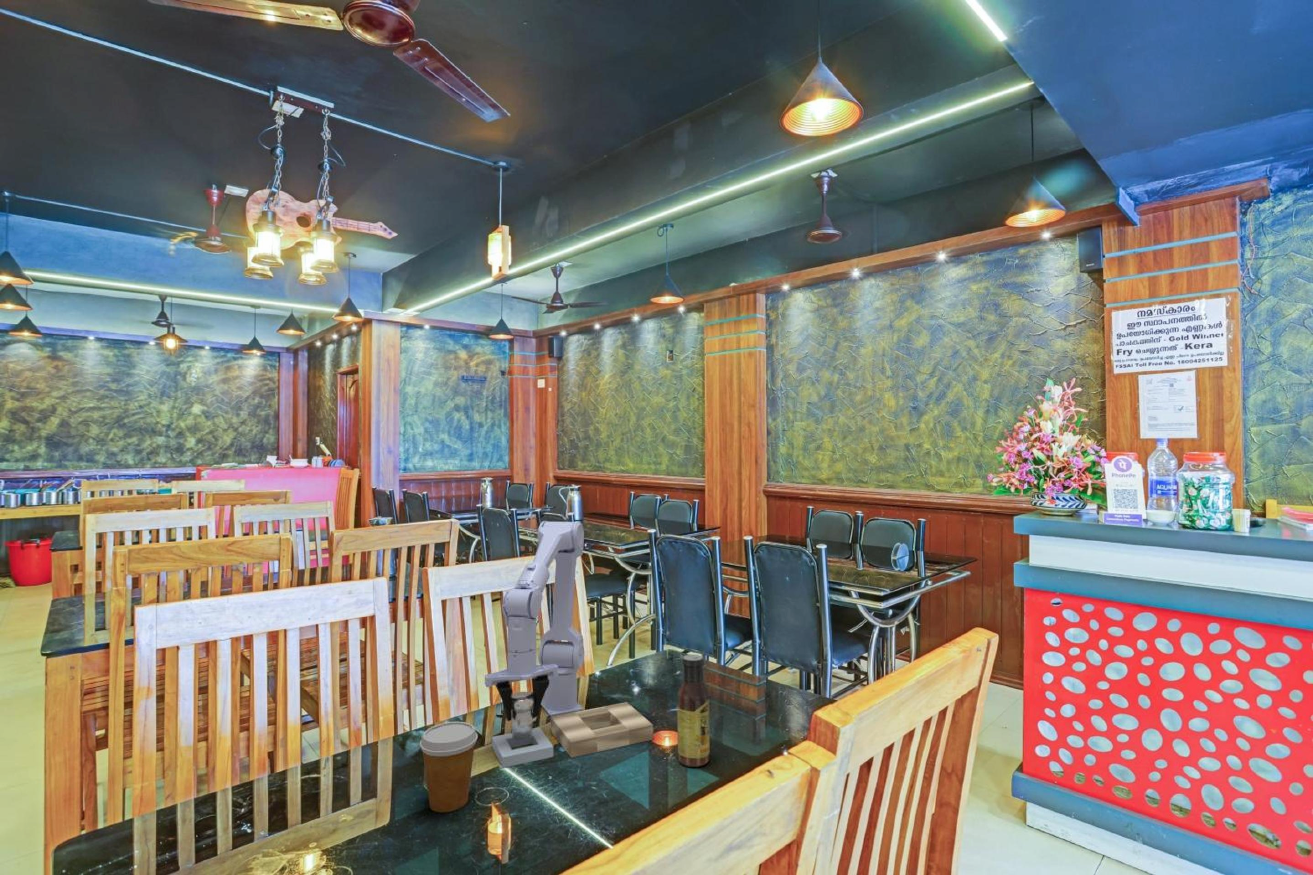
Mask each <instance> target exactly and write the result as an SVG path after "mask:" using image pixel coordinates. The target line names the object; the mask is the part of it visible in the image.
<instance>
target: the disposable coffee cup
mask: <svg viewBox="0 0 1313 875" xmlns="http://www.w3.org/2000/svg"><path fill="white" fill-rule="evenodd" d="M478 737H479V736H478V733H477V732H476V727H475V726H474V725H473V724H471V723H469V722H465V721H448V722H443V723H439V724H436V725H433V726H430V728H427V729H426V730H425V731H424V732H423V735H422V736H421V739H420V742H419V747H420V749H421V751H422V757H423V763H424V769H425V771H424V772H425V779H426V785H427V786H426V787H427V795H428V796H427V797H428V804H429V808H430V810H432V811H434V812H436V813H449V812H453V811H456V810H459V809H461V808H463V807H464V806H465V805H467V803H468V801H469V793H470V787H471V786H470V785H471V777H472V768H473V761H474V754H475V744H476V743H477V740H478Z"/></svg>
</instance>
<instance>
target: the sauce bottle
mask: <svg viewBox="0 0 1313 875" xmlns="http://www.w3.org/2000/svg"><path fill="white" fill-rule="evenodd" d="M682 665H683V676H682V678H683V682H682V683H681V684H680V686H679V688H678V690H677V706H676V708H677V754H678V755H677V757H678V761H679V763H681V764H682V765H683V766H686V767H693V768H697V767H701V766H705V765H707V763H708V762H709V761H710V752H711V750H710V743H711V742H710V739H711V738H710V696H709V694H708V691H707V688H706V685H705V683H704V677H703V666H704V657H703V656H701V655H699V654H687V655H684V656H683V657H682Z"/></svg>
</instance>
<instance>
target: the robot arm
mask: <svg viewBox="0 0 1313 875" xmlns="http://www.w3.org/2000/svg"><path fill="white" fill-rule="evenodd" d="M584 539H585V531H584V526H583V524H582V523H581V521H580V520H579V521H577V520H576V521H547V520H543V521H542V522H541V523H540V524H539V526H538V529H537V542H538V547H537V549H536V552H535V555H534V558H533V561H532V562H528V563H527V564H526V565H525V566H524V568H523V570H522V572H521V574H520V576H519V578H518V580H517V581H516V584H515V585H514V587H513V588H511V589H509V590H508V591H506V592H505V594H504V597H503V600H502V606H501V610H502V614H503V617H504V626H505V627H506V628H507V669H502V670H500V671H496V672H492V673H487V674H484V685H485V687H486V688H491V687H493V686H495V688H496V691H498V693H499V694H498V695H499V697H500V699H501V701H502V705H503V708H504V713H505V714H504V716H505V719H506V721H508V722H512V710H511V698H512V694H513V689H512V687H511V684H510V683H515V682H520V681H529V680H531V685H532V686H531V689H532V693H534V694H535V706H534V707H533V708H532V714H533V715H534V716H536V717H537V716H539V714H540V710H541V709H540V708H541V706H542V708H543V709H544V710H545V711H546V713H547V715H549V716H550V717H552V716H557V715H562V714H567V713H573V712H578V711H583V710H584V707H583V706H582V705H581V704H580V703H578V670H580V669H581V667H582V666H583V664H584V660H585V646H584V636H583V635H582V634H581V633H580V632H579V631H578V630H577V629H575V627H574V624H573V623H574V622H573V621H574V605H575V583H576V567H577V566H576V565H577V560H578V558H580V557H581V556H583V551H584V544H585V543H584V542H585V540H584ZM554 560H555V573H554V592H553V604H552V605H553V606H552V607H553V608H552V623H551V624H552V625H551V628H550V629H548V630H547V631H546V632H545V633H543V634H542V636H541V638H540V646H539V649H538V656H537V617H539V615H540V612H541V608H542V601H543V599H544V596H543V592H544V589H545V588H546V585H547V583H548V581H549V579H550V575H551V574H550V571H549V568H550V566H551V564H552V563H553V561H554ZM537 658H538V664H537Z"/></svg>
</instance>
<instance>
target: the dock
mask: <svg viewBox="0 0 1313 875" xmlns="http://www.w3.org/2000/svg"><path fill="white" fill-rule="evenodd" d="M550 732H551V733H552V735H553V736H554V737H555V739H556V740H557V741H558V742H559V744H560V745H561V747H562V748H563V749H564V750H565V752H566V753H567V755H568V756H569V757H570V758H576V757H581V756H585V755H589V754H595V753H599V752H603V751H608V750H612V749H616V748H617V749H618V748H621V747H626V746H630V745H634V744H638V743H643V742H649V741H653V740H654V724H652V722H650V721H649V720H648V719H647V718H646V717H645V716H643V715H642V714H641V713H640V712H639V711H638V710H636V709H635V708H634V707H633V706H632V705H631V704H629V703H628V702H627V701H625V702H620V703H615V704H610V705H603V706H601V707H595V708H589V709H583V710H581V711H575V712H570V713H565V714H560V715H554V716H550Z"/></svg>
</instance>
